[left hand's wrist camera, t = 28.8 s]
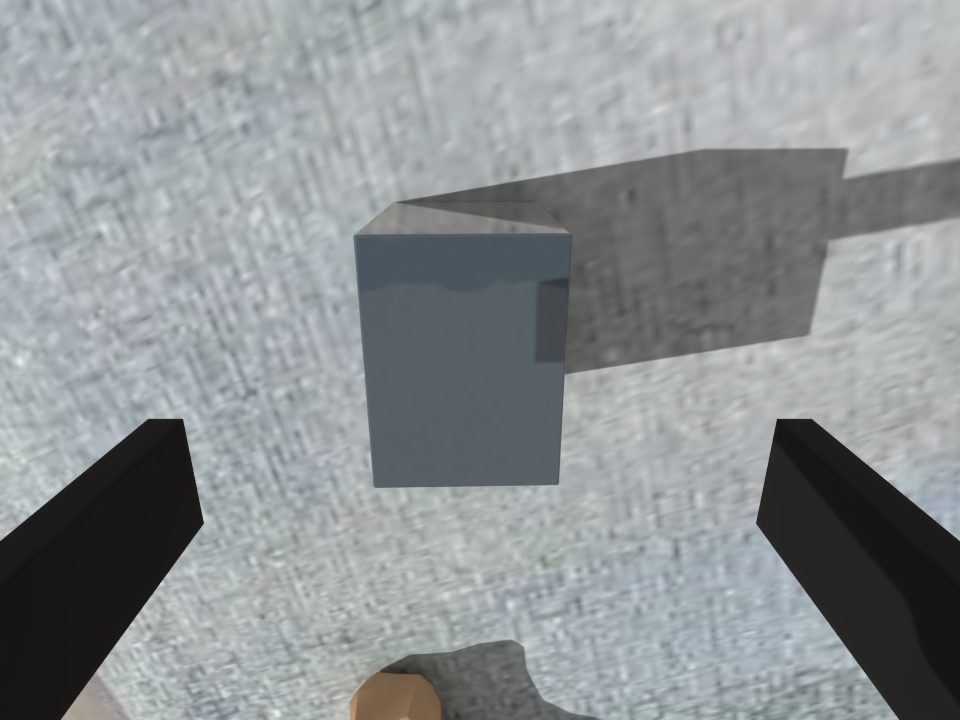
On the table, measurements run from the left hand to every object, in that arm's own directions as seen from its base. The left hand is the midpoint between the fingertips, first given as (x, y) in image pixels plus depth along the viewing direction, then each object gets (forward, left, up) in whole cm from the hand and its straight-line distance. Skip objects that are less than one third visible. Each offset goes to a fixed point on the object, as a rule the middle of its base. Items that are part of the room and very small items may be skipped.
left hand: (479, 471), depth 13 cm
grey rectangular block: (0, 0, -16) cm, 16 cm away
